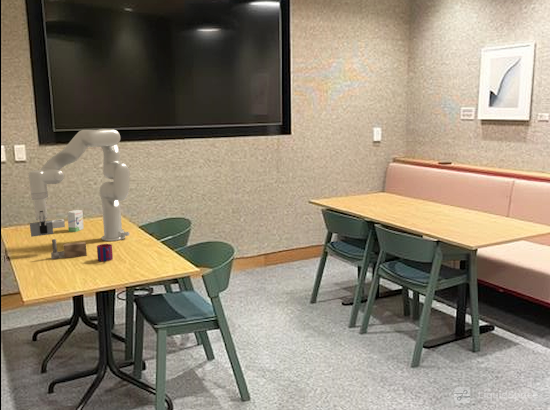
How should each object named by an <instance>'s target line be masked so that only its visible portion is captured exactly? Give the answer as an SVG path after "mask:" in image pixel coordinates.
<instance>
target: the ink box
mask: <svg viewBox="0 0 550 410" xmlns="http://www.w3.org/2000/svg"><path fill="white" fill-rule="evenodd" d="M67 223H68V224H67V225H68V226H67V227H68V232H71V233H76V232H80V231H82V230H84V215H83V209H73V210H70V211H68V212H67Z"/></svg>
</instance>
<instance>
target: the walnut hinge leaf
mask: <svg viewBox="0 0 550 410" xmlns="http://www.w3.org/2000/svg"><path fill="white" fill-rule="evenodd" d="M51 242H52V243H51V245H52V252H50V257H51V260H56V259H62V258H65V259H66V258H67V259H68V258H76V257H85V256H86V257H87V244H86V241H82V242H81V241H80V242H71V243H69V242H68V243H63V250H60V251H58V247H57V239H56V238H54V239H53V238H52V239H51Z"/></svg>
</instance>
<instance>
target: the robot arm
mask: <svg viewBox="0 0 550 410" xmlns="http://www.w3.org/2000/svg"><path fill="white" fill-rule="evenodd" d="M120 141H121V135H120V132H119V131H118V130H117V129H111V128H99V129H82V130H79V131H78V132H77V133H76V134H75V135H74V136H73V137H72V139H71V140H70V141H69V142H68V143H67V144H66V146H65V147H64V148H63V149H61V150H60V151H58V152H57V153H55V155H53V156H52V157H51V158H49V159H48V160H47V161H45V163H44V165H42V167H41V168H40V170H38V169H36V170H31V171H28V182H29V189H30V197H31V201H33V206H34V207H33V208H34V212H35V213H34V215H35V220H36V221H38V220H39V221H38V222H40V234H45V233H47V225H46V221H47V217H48V209H47V208H48V207H47V199H49V192H48V185H57V184H60V183H61V182H63V181H64V178H65V175H64V172H63V171H62V170H61V169H62V168H64V167H65V166H67V165H70V164H72V163H74V162H77V161H78V160H79V159H80V158H81V157H82V156H83V154H84V153H85V152H86V151H87V150H88V148H89V147H93V148H94V147H95V148H96V147H98V148H99V147H100V148H101V149H102V153H103V165H102V166H103V167H102V174H103V176H104V177H105V178H106V179H108V180H112V181H104V182H103V183H102V184H101V185H100V187H99V196H100V200H101V206H102V220H103V235H102V236H101V240H102V241H105V242H112V241H113V242H115V241H121V240H124V239H125V238H126V237H127V236H128V237H129V236H130V232H129V231H125V229H122V228H123V227H122V211H121V210H122V208H121V207H122V206H121V202H120V201H123V200H126V199H127V197H128V196H129V192H130V180H131V177H130V175H131V174H130V173H131V171H130V168H129V167H128V165H127V164H126V163H124V162H121V152H120V148H119V145H118V144H119V143H120Z"/></svg>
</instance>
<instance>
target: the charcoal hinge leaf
mask: <svg viewBox="0 0 550 410" xmlns="http://www.w3.org/2000/svg"><path fill="white" fill-rule="evenodd" d="M46 225H47V233H45V234H40V222H39V221H37V222H29V228H30V229H29V230H30V236H31V237H40V236H47V235H54V229H59V228H66V224H65V219H64V218H60V219H54V220H53V219H52V220H46Z"/></svg>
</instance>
